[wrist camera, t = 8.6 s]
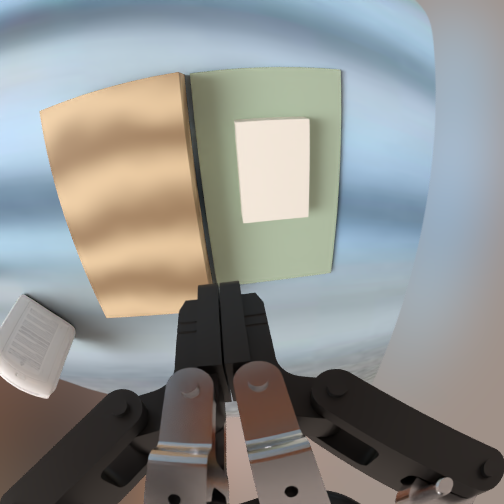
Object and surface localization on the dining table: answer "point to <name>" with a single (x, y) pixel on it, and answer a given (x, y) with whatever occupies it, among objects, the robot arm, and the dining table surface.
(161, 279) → the board
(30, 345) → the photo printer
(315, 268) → the sage mat
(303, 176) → the cream tile
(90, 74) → the dining table surface
